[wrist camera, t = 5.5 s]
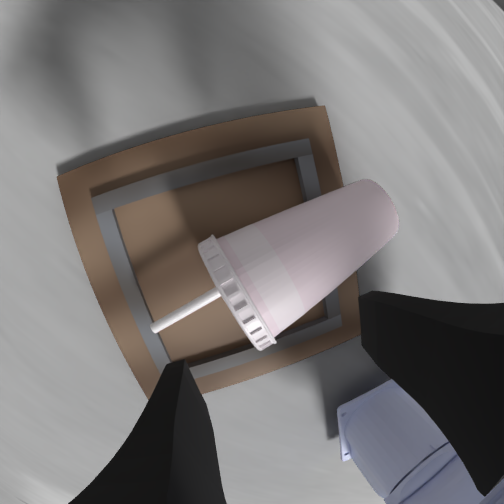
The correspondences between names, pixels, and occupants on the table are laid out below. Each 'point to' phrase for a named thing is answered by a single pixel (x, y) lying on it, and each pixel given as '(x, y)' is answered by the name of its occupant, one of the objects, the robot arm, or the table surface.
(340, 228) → the smoothie
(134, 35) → the table surface
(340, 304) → the holder
